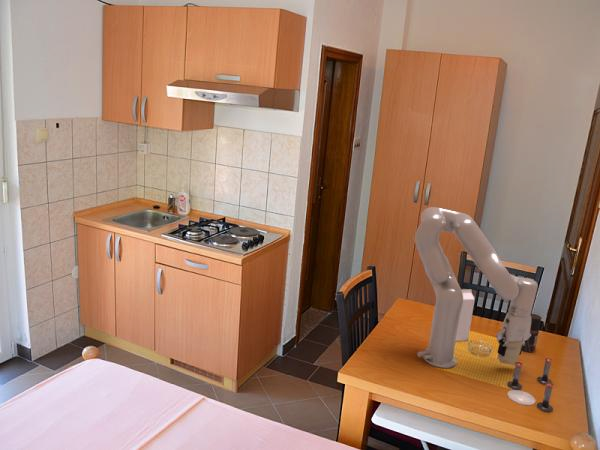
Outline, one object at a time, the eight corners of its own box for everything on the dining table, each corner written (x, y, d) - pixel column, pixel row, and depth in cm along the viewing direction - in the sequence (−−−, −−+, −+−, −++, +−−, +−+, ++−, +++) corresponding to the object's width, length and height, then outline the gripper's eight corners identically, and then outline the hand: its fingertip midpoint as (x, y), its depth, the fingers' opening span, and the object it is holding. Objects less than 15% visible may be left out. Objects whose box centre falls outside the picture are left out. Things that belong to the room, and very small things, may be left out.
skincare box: (500, 363, 198) (508, 334, 195) (496, 357, 202) (504, 328, 199) (517, 365, 198) (524, 336, 195) (513, 360, 202) (520, 331, 199)
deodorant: (532, 354, 216) (539, 320, 212) (517, 349, 219) (524, 316, 216) (536, 349, 220) (542, 316, 217) (521, 344, 224) (527, 312, 220)
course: (544, 413, 173) (549, 388, 171) (504, 383, 190) (508, 360, 188) (587, 405, 180) (592, 381, 178) (544, 377, 197) (548, 355, 195)
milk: (468, 340, 224) (476, 292, 219) (455, 341, 222) (463, 292, 217) (460, 334, 230) (468, 286, 224) (447, 334, 228) (455, 287, 223)
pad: (520, 407, 175) (520, 405, 175) (501, 392, 184) (502, 391, 184) (541, 403, 179) (541, 402, 179) (521, 389, 187) (522, 388, 187)
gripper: (508, 315, 188) (497, 360, 192) (545, 314, 195) (533, 357, 199) (494, 307, 195) (484, 350, 199) (530, 306, 201) (519, 348, 206)
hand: (509, 353), depth 199 cm, fingers closed on skincare box, 7 cm apart
